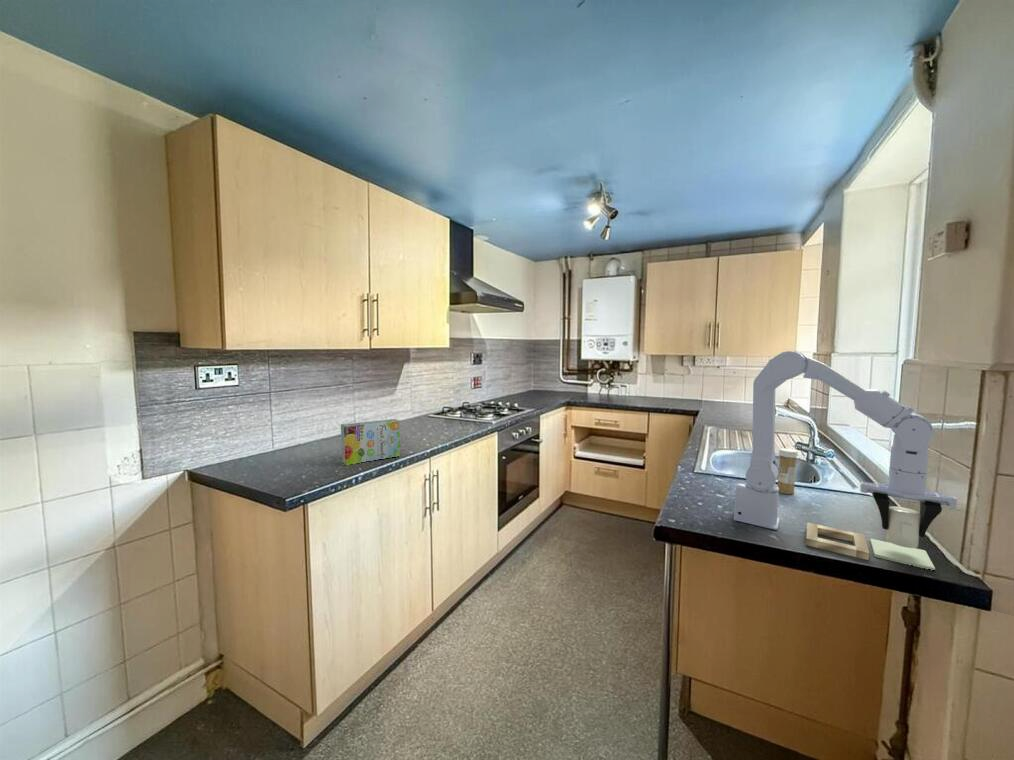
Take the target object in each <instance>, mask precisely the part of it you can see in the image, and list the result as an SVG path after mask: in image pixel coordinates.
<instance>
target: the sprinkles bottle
mask: <svg viewBox="0 0 1014 760" xmlns="http://www.w3.org/2000/svg"><path fill="white" fill-rule="evenodd" d="M778 456H779V462H778V463H779V464H778V467H779V471H780V473H779V476H778V478H777V486H778V487H779V493H782V494H784V495H793V494H795V482H796V474H797V473H796V471H797V458H798V450H796V449H792V448H783V447H782V448H779V452H778Z"/></svg>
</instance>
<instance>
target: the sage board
mask: <svg viewBox="0 0 1014 760" xmlns="http://www.w3.org/2000/svg"><path fill="white" fill-rule="evenodd" d="M869 541H870V545H871V549H872V552H873V556H874V558H879V559H883V560H888V561H891V562H896V563H899V564H904V565H907V564H908V566H911V565H913V567H917V568H921V569H924V568H925V569H926V570H928V569H931V570H930V571H932V570H935V571H936V567H935V565H934V564H933V562H932V559H931V558H930V557H929V554H928V552H927V551H926V550H924V549H921V548H907V547H902V546H898V545H895V544H893V543H890V542H889V541H884V540H878V539H874V538H870V539H869Z"/></svg>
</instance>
